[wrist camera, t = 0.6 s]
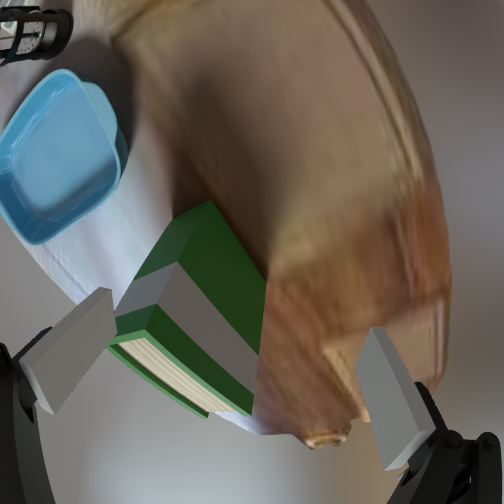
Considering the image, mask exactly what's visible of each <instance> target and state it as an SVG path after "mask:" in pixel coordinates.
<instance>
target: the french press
mask: <svg viewBox="0 0 504 504" xmlns="http://www.w3.org/2000/svg"><path fill="white" fill-rule="evenodd" d="M13 21H17V28H16V30H15V33H14V36H8V37H1V38H0V40H2V39H10V38H13V40H12V47H11V49H5V50H0V59H2V58H5V60H4V61H3V62H2V63H1V64H0V67H2V66H5V65H6V64H7V63H12V62H17V61H23V60H28V59H31V60H40V59H43V60H49V59H52V58H54V57H56V56H57V55H59V54H60V53H61V52H62V51H63V49H64V48H65V47H66V45H67V43H68V42H69V39H70V37H71V34H72V30H73V17H72V15H71V13H70V12H69V11H67V10H65V9H58V10H51V9H49V10H45V11H43V12H41V11H40V7H39V6H3V7H1V8H0V27H1V23H2V22H13ZM47 22H58V30H57V34H56V37H55V40H54V42H53V44H52V46H51V47H50V49H49V50H47V51H42V49H41V47H40V44H41V42H42V40H43V37H44V34H45V29H46V23H47Z"/></svg>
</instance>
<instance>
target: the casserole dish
mask: <svg viewBox="0 0 504 504" xmlns="http://www.w3.org/2000/svg"><path fill="white" fill-rule="evenodd" d="M127 159H128V149H127V144H126V140H125V137H124V135H123V133H122V131H121V129H120V127H119V125H118V120H117V116H116V113H115V111H114V108H113V106H112V104H111V102H110V100H109V99H108V97H107V95H106V93H105V92H104V90H103V89H102V88H101V87H100V86H99V85H98V84H95V83H93V82H92V81H91V80H90V79H89V78H87V77H86V76H84V75H82V74H80V73H77V72H75V71H73V70H70V69H67V68H61V69H57V70H55V71H53V72H51V73H49V74H48V75H47V76H46V77H44V78H43V79H42V80H41V81H40V82H39V83H38V84H37V85H36V86H35V87H34V88H33V90H32V91H31V92H30V93H29V95H28V96H27V97H26V98H25V100H24V101H23V102H22V104H21V105H20V107H19V108H18V109H17V111H16V112H15V114H14V115H13V117H12V118H11V120H10V121H9V123H8V124H7V126H6V127H5V129H4V131H3V132H2V134H1V136H0V214H1V215H2V217H3V219H4V220H5V222H6V223H7V224H8V226H9V227H10V228H12V229H13V230H14V231H16V232H17V233H18V234H19V236H20V237H21V238H22V239H23V240H24V241H26V242H27V243H28V244H30V245H33V246H40V245H43V244H45V243H47V242H49V241H50V240H52V239H53V238H55V237H56V236H58V235H59V234H60V233H62V232H63V231H65V230H66V229H67V228H69V227H70V226H72V225H73V224H75V223H76V222H77V221H79V220H80V219H82V218H83V217H85V216H86V215H88V214H89V213H91V212H92V211H94V210H95V209H96V208H98V207H99V206H100V205H102V204H103V203H104V202H105V201H106V200H107V199H108V198H109V197H110V196H111V195H112V194H113V192H114V191H115V190H116V188H117V186H118V184H119V181H120V179H121V176H122V174H123V172H124V170H125V167H126V164H127Z"/></svg>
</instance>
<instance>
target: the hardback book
mask: <svg viewBox="0 0 504 504" xmlns="http://www.w3.org/2000/svg"><path fill="white" fill-rule="evenodd" d="M265 293H266V282H265V280H264V279H263V277H262V276H261V274H260V273H259V271H258V270H257V268H256V267H255V265H254V264H253V262H252V261H251V259H250V258H249V256H248V255H247V253H246V252H245V250H244V249H243V247H242V246H241V244H240V242H239V241H238V239H237V238H236V236H235V235H234V233H233V232H232V230H231V229H230V227H229V226H228V224H227V223H226V221H225V220H224V218H223V217H222V215H221V214H220V212H219V211H218V209H217V208H216V206H215V204H214V203H213V201H212V200H211V199H209V200H207V201H205V202H204V203H202V204H200V205H198V206H196V207H194V208H192V209H190V210H188V211H186V212H184V213H183V214H181V215H179V216H177V217H175V218H173V219H172V221H171V222H170V223H169V225H168V226H167V228H166V229H165V231H164V232H163V234H162V235H161V237H160V238H159V240H158V241H157V243H156V244H155V246H154V247H153V249H152V250H151V252H150V253H149V255H148V257H147V258H146V260H145V261H144V263H143V264H142V266H141V268H140V269H139V271H138V272H137V274H136V276H135V277H134V279H133V281H132V282H131V284H130V285H129V287H128V289H127V290H126V292H125V294H124V296H123V297H122V299H121V301H120V302H119V304H118V306H117V308H116V309H115V311H114V314H115V321H116V328H117V334H116V335H115V336H114V338H113V339H112V340H111V341H110V343H109V344H108V345H107V346H106V348H107V349H108V350H109V351H110V352H111V353H113V354H114V355H115V356H116V357H117V358H118V359H120V360H121V361H122V362H123V363H125V364H126V365H127V366H128V367H129V368H131V369H132V370H133V371H134V372H136V373H137V374H138V375H140V376H141V377H142V378H144V379H145V380H146V381H148V382H149V383H150V384H152V385H153V386H155V387H156V388H157V389H158V390H160V391H161V392H163V393H164V394H166V395H167V396H168V397H170V398H171V399H173V400H174V401H176V402H177V403H179V404H180V405H182V406H183V407H185V408H187V409H188V410H190V411H191V412H193V413H194V414H196V415H198V416H199V417H201V418H208V414H209V412H217V411H233V410H236V411H237V412H239V413H240V414H242V415H243V416H251V415H252V407H253V399H254V391H255V383H256V374H257V366H258V357H259V348H260V339H261V330H262V321H263V312H264V303H265Z"/></svg>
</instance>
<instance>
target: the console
mask: <svg viewBox="0 0 504 504" xmlns="http://www.w3.org/2000/svg"><path fill="white" fill-rule="evenodd" d="M34 1H35V0H1V2H0V8H1V7H3V6H32V5H33V3H34ZM1 27H2V28H3V29H5V30H6V31H8V32H9V33H10V34H14V33H15V30H16V28H17V21H13V22H2V23H1Z"/></svg>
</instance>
